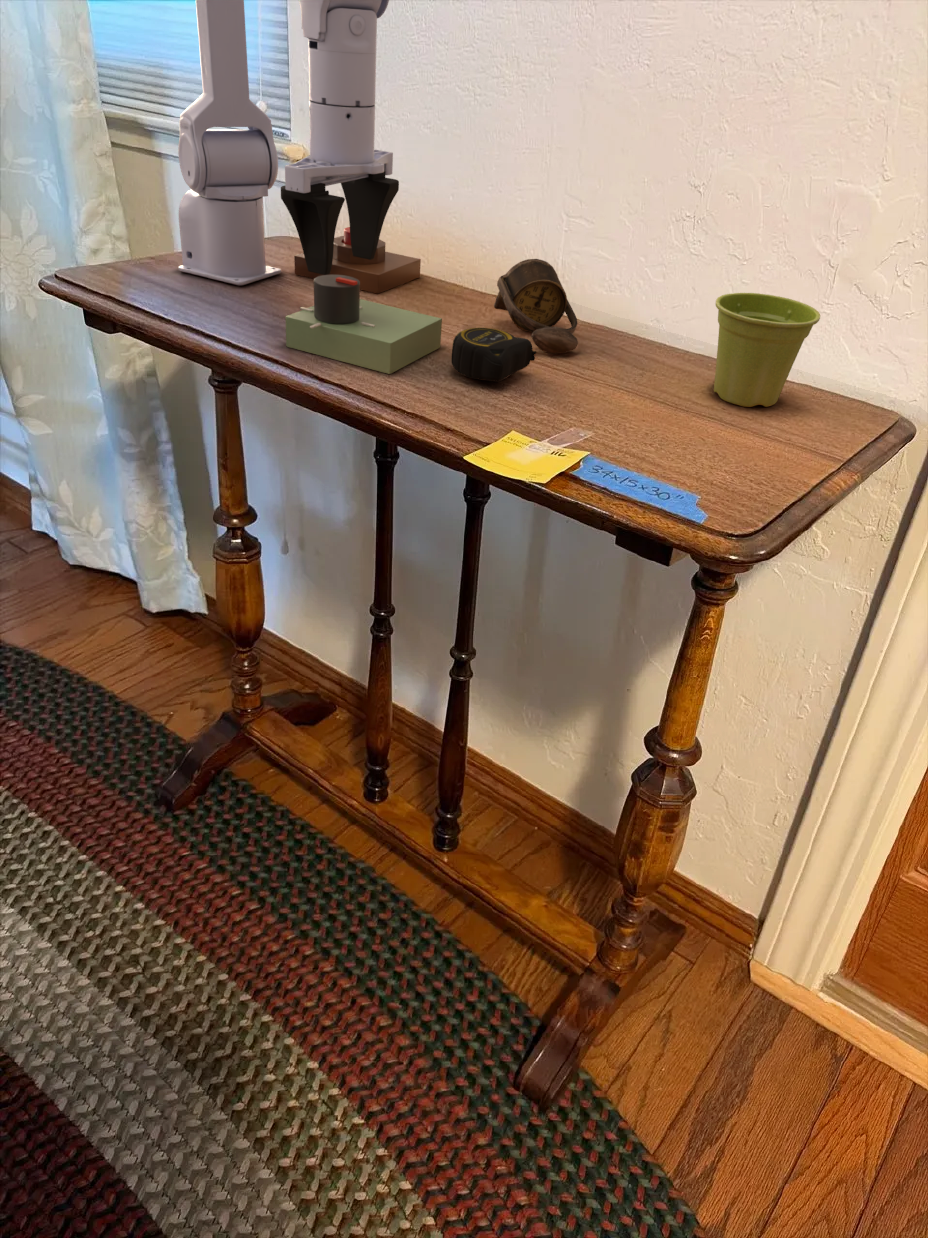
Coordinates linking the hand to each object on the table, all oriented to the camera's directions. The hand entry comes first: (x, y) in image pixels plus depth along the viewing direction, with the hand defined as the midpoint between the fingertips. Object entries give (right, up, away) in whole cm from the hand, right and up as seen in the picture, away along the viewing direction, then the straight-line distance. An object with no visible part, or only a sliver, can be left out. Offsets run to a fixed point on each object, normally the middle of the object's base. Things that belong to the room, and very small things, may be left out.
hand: (341, 264), depth 88 cm
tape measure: (+14, -11, +1) cm, 18 cm away
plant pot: (+39, -12, +2) cm, 41 cm away
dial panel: (+2, -6, +5) cm, 8 cm away
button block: (-1, +9, +27) cm, 28 cm away
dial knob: (-1, -4, +2) cm, 5 cm away
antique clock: (+19, -3, +12) cm, 23 cm away
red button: (-1, +12, +25) cm, 27 cm away
